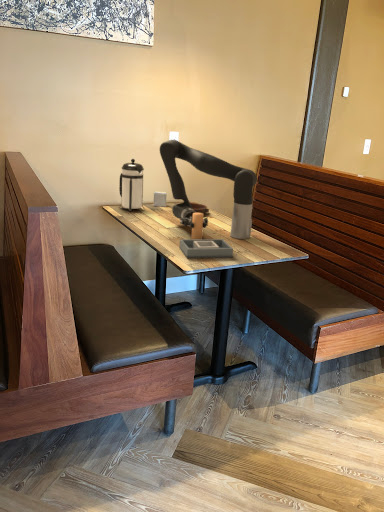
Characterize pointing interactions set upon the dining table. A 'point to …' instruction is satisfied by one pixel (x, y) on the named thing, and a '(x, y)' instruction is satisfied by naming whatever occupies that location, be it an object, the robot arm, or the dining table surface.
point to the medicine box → (160, 199)
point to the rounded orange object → (197, 226)
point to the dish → (199, 208)
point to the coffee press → (131, 185)
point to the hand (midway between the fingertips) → (199, 225)
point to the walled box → (205, 248)
